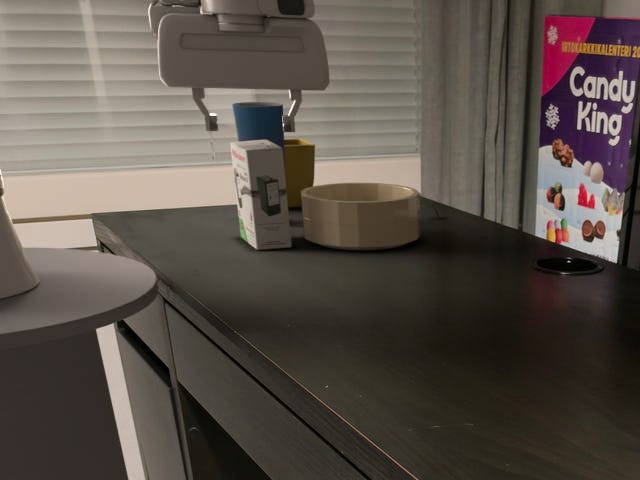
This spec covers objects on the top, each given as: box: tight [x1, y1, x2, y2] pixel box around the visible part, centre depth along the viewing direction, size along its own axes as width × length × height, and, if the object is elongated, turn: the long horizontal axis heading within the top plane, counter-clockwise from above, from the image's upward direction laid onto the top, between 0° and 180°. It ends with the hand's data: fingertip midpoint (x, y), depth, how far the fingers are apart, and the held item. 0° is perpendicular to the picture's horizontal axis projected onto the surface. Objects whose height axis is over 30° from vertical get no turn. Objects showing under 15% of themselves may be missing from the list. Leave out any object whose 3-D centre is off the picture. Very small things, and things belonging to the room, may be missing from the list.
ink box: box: [229, 140, 293, 251], centre depth 120 cm, size 9×5×12 cm, turn 27°
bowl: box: [300, 182, 421, 251], centre depth 124 cm, size 16×16×6 cm
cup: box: [231, 101, 286, 181], centre depth 130 cm, size 7×7×15 cm
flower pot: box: [284, 138, 316, 208], centre depth 143 cm, size 9×9×9 cm
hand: (251, 131), depth 115 cm, fingers open, 8 cm apart
